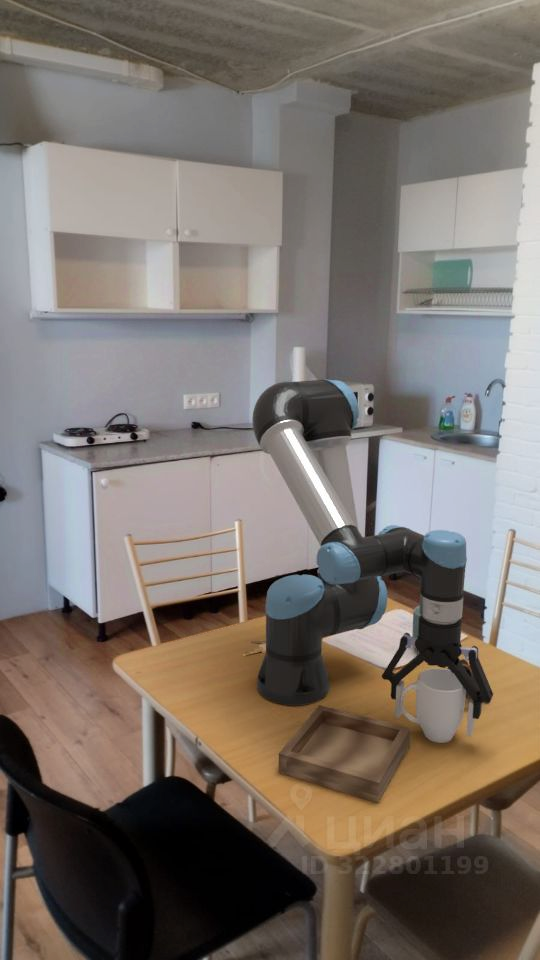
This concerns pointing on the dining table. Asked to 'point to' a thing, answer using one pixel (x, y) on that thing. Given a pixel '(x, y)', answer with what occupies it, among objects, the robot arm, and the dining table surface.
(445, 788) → the dining table surface
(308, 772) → the tray
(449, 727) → the mug
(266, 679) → the robot arm
